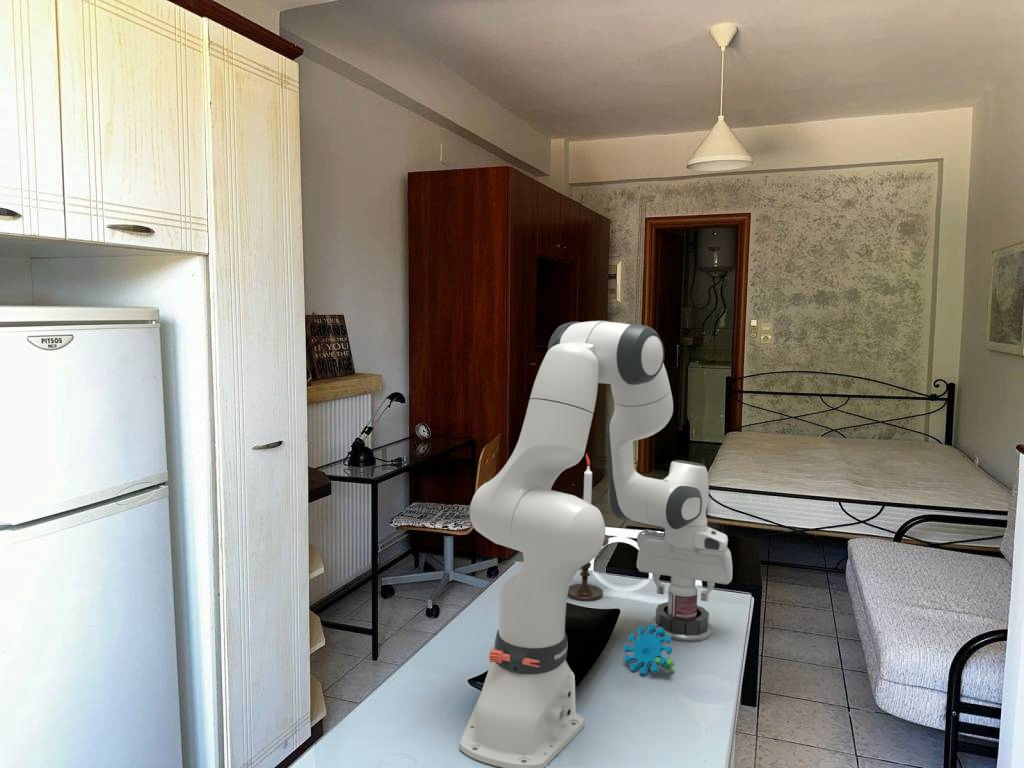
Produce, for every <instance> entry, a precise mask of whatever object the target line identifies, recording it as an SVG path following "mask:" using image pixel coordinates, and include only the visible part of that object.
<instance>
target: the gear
mask: <svg viewBox="0 0 1024 768" xmlns="http://www.w3.org/2000/svg"><path fill="white" fill-rule="evenodd" d="M655 629H656V627H655V626H654V625H652V623H649V624H648V625H647V630H646V629H645V628H644V627H643V626H639V627H637V628H636V630H637V633H638V638H637V637H636V635H635V634H634V633H630V634H629V635H628V636H627V639H628V641H630V642H632V643H633V647H631V646H630V645H629V644H628V643H625V644H624V646H623V648H622V649H623V651H625V652H626V653H633V655H632V656H630V655H629V654H625V655H624V657H623V659H624V662H625V663H626V664H629V668H630V669H631V671H632V672H633V673H634V672H637V671H638V672H639V673H641V675H644V676H647V674H648V669H649V667H650V671H651V672H652V673H653V674H655V673H658V672H659V669H660V668H659V666H660V667H662V668H663V669H665V670H666V671H669V672H670V673H671V674H675V673H676V671H675V669H674V668H673V667H674V666H675V662H674V661H673V660H672V659H671V658H667V657H665V656H663V654H662V653H663V651H664V650H665V653H666V654H668V655H671V654H672V653H673V650H674V649H673V648H672V646H671V645H663V644H662V643H663V642H665V643H667V644H670V643H672V640H671V637H670V636H669V635H666V636H664V637H662V636H660V635H664V634H665V633H666V632H665V630H664V629H663V628H662V627H659V628H658V630H657V631H656V632H654V631H655ZM653 632H654V633H653ZM643 634H644V635H643ZM659 636H660V637H659ZM633 661H637V662H635V663H631V662H633ZM651 664H652V665H651ZM642 665H643V666H642ZM650 665H651V666H650ZM640 666H641V667H640ZM639 667H640V668H639ZM638 668H639V670H638Z"/></svg>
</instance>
